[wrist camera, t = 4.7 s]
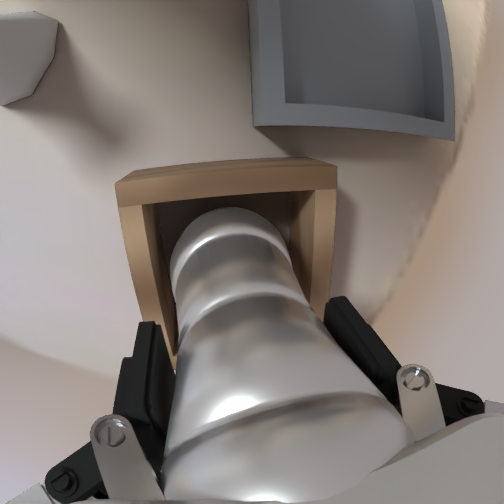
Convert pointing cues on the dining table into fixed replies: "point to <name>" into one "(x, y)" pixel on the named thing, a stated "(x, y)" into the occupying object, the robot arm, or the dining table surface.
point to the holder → (223, 184)
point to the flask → (24, 52)
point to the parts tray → (352, 65)
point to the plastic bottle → (263, 377)
